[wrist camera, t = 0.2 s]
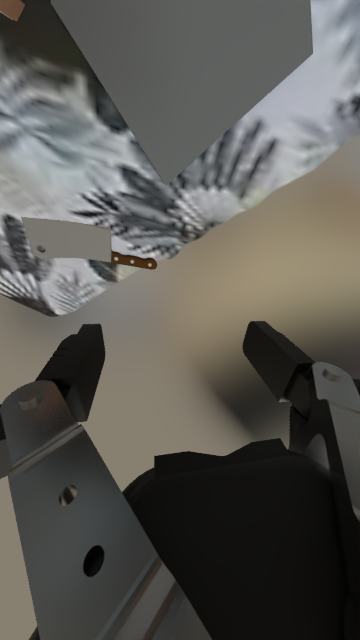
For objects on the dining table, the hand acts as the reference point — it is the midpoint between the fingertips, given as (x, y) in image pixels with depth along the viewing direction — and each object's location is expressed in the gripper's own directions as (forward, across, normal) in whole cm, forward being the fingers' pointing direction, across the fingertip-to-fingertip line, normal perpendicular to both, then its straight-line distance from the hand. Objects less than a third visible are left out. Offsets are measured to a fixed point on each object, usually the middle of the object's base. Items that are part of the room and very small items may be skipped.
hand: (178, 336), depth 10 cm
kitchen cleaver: (+34, +11, 0) cm, 35 cm away
